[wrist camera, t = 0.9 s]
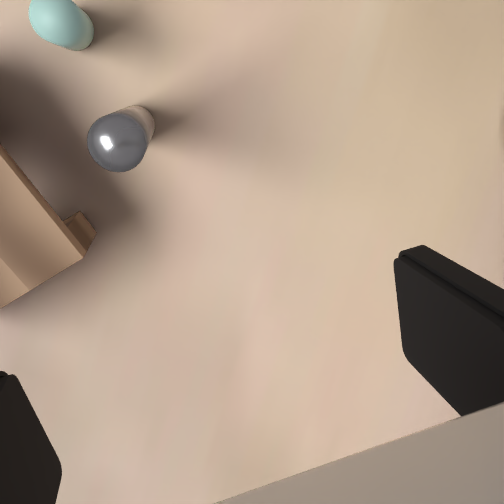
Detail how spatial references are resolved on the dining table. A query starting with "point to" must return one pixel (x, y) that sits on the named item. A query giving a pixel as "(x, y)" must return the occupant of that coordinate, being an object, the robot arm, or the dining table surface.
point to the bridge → (33, 235)
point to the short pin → (61, 23)
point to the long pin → (121, 138)
